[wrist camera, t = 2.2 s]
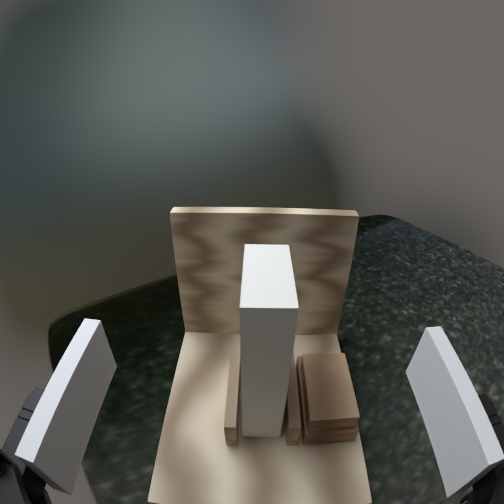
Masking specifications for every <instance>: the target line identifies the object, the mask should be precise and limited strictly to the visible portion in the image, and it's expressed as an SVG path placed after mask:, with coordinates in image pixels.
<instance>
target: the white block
mask: <svg viewBox="0 0 504 504" xmlns="http://www.w3.org/2000/svg"><path fill="white" fill-rule="evenodd" d="M298 310H299V307H298V300H297V294H296V287H295V281H294V274H293V268H292V262H291V256H290V250H289V245H269V244H245V248H244V260H243V272H242V284H241V297H240V353H241V396H242V432H243V436H245V437H280V434H281V428H282V422H283V416H284V410H285V404H286V397H287V391H288V384H289V377H290V371H291V364H292V356H293V349H294V342H295V334H296V326H297V318H298Z"/></svg>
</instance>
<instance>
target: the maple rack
mask: <svg viewBox="0 0 504 504" xmlns="http://www.w3.org/2000/svg"><path fill="white" fill-rule="evenodd" d="M170 217H171V226H172V235H173V245H174V252H175V261H176V269H177V277H178V284H179V292H180V299H181V306H182V312H183V319H184V325H185V331H186V332H185V336H184V340H183V344H182V348H181V352H180V356H179V360H178V364H177V368H176V373H175V377H174V381H173V385H172V389H171V394H170V398H169V402H168V407H167V411H166V415H165V420H164V424H163V429H162V433H161V438H160V443H159V447H158V452H157V457H156V462H155V467H154V472H153V476H152V482H151V487H150V492H149V497H148V502H149V503H150V504H371V503H372V500H371V494H370V488H369V482H368V476H367V471H366V465H365V460H364V455H363V450H362V444H361V439H360V434H359V432H358V434H357V436H356V438H355V440H354V441H348V442H337V443H325V444H309V445H302V435H301V419H300V408H299V397H298V387H297V376H296V361H297V356H302V354H333V353H341V350H340V346H339V342H338V338H337V330H338V325H339V321H340V316H341V312H342V307H343V303H344V298H345V293H346V288H347V283H348V278H349V273H350V267H351V262H352V257H353V251H354V245H355V239H356V233H357V227H358V220H359V215H358V214H357V212H356V211H351V210H328V209H327V210H326V209H299V208H256V207H253V208H252V207H173V209H172V210H171V212H170ZM245 244H269V245H289V250H290V256H291V262H292V268H293V274H294V281H295V287H296V294H297V300H298V307H299V310H298V318H297V326H296V334H295V342H294V349H293V356H292V364H291V371H290V377H289V384H288V391H287V397H286V404H285V410H284V416H283V422H282V428H281V434H280V437H245V436H243V432H242V396H241V353H240V297H241V284H242V272H243V260H244V248H245Z"/></svg>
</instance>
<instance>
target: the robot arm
mask: <svg viewBox="0 0 504 504" xmlns="http://www.w3.org/2000/svg"><path fill="white" fill-rule="evenodd" d="M116 367H117V365H116V363H115V360H114V357H113V355H112V352H111V349H110V346H109V344H108V341H107V338H106V335H105V332H104V329H103V326H102V323H101V320H93V319H84V321H83V322H82V324H81V326H80V327H79V329H78V331H77V332H76V334H75V336H74V338H73V339H72V341H71V343H70V345H69V346H68V348H67V350H66V352H65V353H64V355H63V357H62V359H61V361H60V362H59V364H58V366H57V368H56V370H55V372H54V373H53V375H52V377H51V379H50V381H49V383H48V385H47V387H46V389H45V390H44V389H41V388H36V389H35V390H33V391H32V393H30V394H29V395H28V396H27V398H26V400H25V402H24V404H23V406H22V409H21V410H20V412H19V414H18V418H16V420H15V422H14V424H13V426H12V428H11V430H10V433H9V434H8V437H7V439H6V441H5V443H4V446H3V447H2V449H0V504H52V503H51V500H50V498H49V496H48V493H47V491H46V490H45V485H46V483H47V484H48V485H49V486H51V487H52V488H53V489H56V490H58V491H61V492H63V493H66V494H69V495H71V493H72V490H73V487H74V484H75V480H76V477H77V474H78V471H79V468H80V465H81V462H82V459H83V456H84V453H85V450H86V447H87V444H88V441H89V438H90V435H91V433H92V430H93V427H94V424H95V421H96V419H97V416H98V413H99V411H100V408H101V405H102V403H103V400H104V397H105V395H106V392H107V390H108V387H109V385H110V382H111V379H112V377H113V374H114V372H115V370H116ZM406 374H407V377H408V379H409V382H410V384H411V387H412V390H413V392H414V395H415V398H416V400H417V403H418V406H419V409H420V411H421V414H422V417H423V420H424V423H425V426H426V429H427V432H428V435H429V438H430V441H431V444H432V447H433V450H434V453H435V456H436V459H437V463H438V466H439V469H440V473H441V476H442V480H443V483H444V487H445V490H446V494H447V498H448V497H451V496H454V495H457V494H460V493H462V492H464V491H466V490H467V489H468V488H470V487H471V486H472V487H473V491H472V492H470V493H469V494H468V495H466V496H465V497H463V498H462V499H461V501H460V502H459V503H463V502H464V501H466V500H467V499H468V501H467V502H466V503H465V504H504V426H503V423H501V422H502V421H501V419H500V417H499V415H497V414H498V413H497V411H496V408H495V406H494V404H493V402H492V401H491V400H490V399H489V398H488V397H487V396H486V395H485V394H482V395H477V393H476V391H475V389H474V387H473V385H472V383H471V381H470V379H469V377H468V375H467V373H466V371H465V369H464V367H463V366H462V364H461V362H460V360H459V358H458V356H457V354H456V353H455V351H454V349H453V347H452V345H451V344H450V342H449V340H448V338H447V337H446V335H445V333H444V331H443V330H442V328H441V326H439V327H426V329H425V331H424V333H423V336H422V338H421V340H420V343H419V345H418V347H417V349H416V351H415V353H414V356H413V358H412V360H411V362H410V364H409V366H408V368H407V370H406Z"/></svg>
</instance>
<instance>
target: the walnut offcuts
mask: <svg viewBox="0 0 504 504" xmlns="http://www.w3.org/2000/svg"><path fill="white" fill-rule="evenodd" d="M296 376H297V387H298V397H299V408H300V419H301V435H302V445H309V444H325V443H337V442H348V441H354V440H355V438H356V436H357V434H358V432H359V428H358V423H357V422H358V420H359V418H360V415H359V411H358V407H357V402H356V398H355V394H354V389H353V385H352V381H351V377H350V373H349V369H348V365H347V361H346V357H345V353H333V354H302V356H297V361H296Z"/></svg>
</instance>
